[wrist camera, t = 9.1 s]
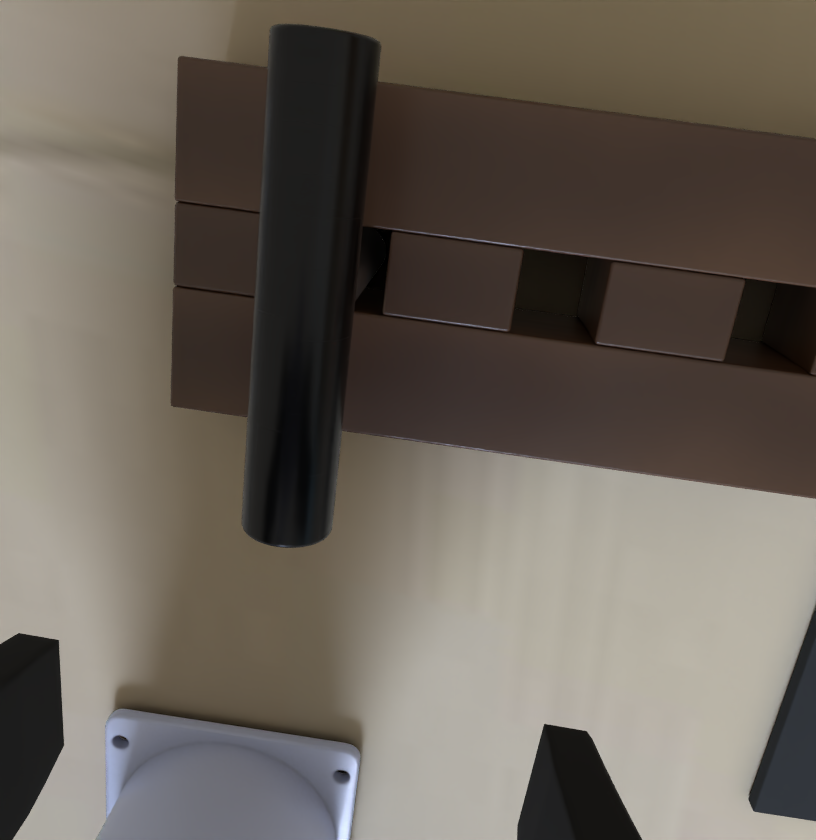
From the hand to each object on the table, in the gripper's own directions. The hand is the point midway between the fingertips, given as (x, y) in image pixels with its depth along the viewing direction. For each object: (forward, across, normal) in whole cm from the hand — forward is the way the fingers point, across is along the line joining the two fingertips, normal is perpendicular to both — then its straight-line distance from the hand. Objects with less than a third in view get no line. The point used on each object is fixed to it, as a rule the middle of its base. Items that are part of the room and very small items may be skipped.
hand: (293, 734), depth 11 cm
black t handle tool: (+11, +1, -5) cm, 12 cm away
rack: (+11, -4, -5) cm, 12 cm away
